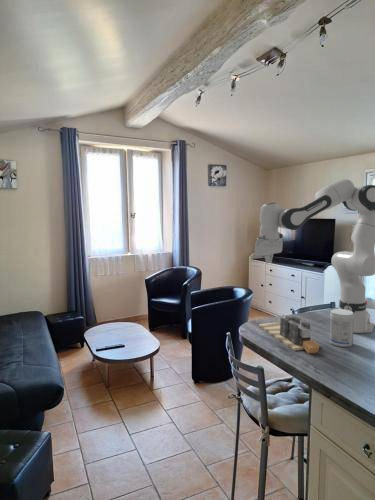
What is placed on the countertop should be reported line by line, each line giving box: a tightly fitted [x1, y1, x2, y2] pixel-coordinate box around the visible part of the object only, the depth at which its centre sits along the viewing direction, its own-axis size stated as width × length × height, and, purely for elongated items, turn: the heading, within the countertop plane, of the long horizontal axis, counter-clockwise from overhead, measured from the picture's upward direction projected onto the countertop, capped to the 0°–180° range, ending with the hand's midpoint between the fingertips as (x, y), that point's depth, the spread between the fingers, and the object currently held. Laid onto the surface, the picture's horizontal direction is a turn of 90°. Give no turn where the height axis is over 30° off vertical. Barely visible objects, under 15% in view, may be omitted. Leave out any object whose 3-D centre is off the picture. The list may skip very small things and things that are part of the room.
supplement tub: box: [329, 308, 354, 348], centre depth 146 cm, size 10×10×15 cm
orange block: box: [302, 339, 320, 355], centre depth 139 cm, size 3×5×5 cm
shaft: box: [276, 315, 311, 338], centre depth 152 cm, size 22×6×6 cm, turn 14°
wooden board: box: [258, 315, 321, 351], centre depth 157 cm, size 33×13×10 cm, turn 14°
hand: (268, 263), depth 164 cm, fingers closed
